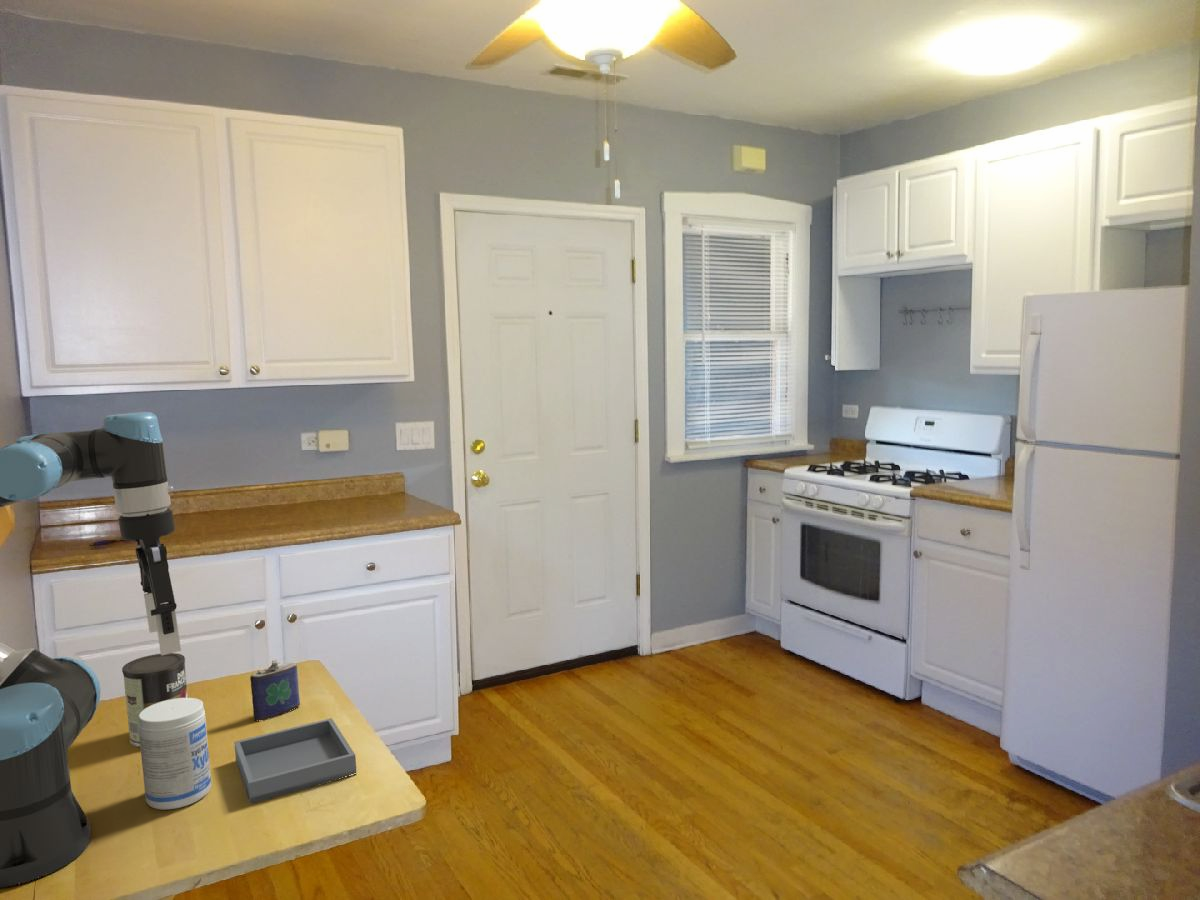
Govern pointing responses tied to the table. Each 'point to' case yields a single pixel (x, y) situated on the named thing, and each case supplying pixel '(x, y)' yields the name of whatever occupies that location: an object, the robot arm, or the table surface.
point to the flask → (275, 690)
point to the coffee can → (152, 685)
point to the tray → (293, 759)
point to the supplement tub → (174, 753)
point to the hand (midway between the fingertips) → (164, 641)
